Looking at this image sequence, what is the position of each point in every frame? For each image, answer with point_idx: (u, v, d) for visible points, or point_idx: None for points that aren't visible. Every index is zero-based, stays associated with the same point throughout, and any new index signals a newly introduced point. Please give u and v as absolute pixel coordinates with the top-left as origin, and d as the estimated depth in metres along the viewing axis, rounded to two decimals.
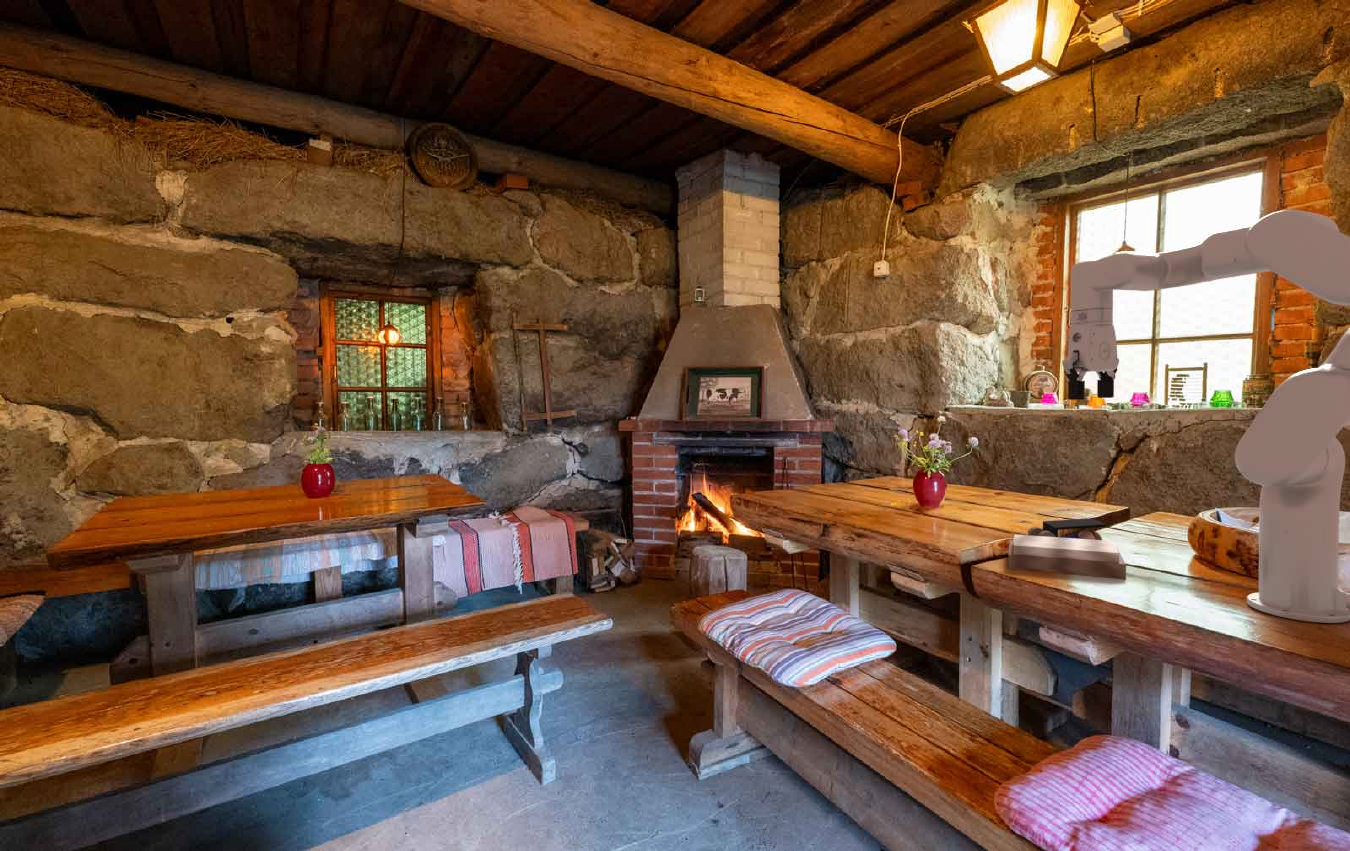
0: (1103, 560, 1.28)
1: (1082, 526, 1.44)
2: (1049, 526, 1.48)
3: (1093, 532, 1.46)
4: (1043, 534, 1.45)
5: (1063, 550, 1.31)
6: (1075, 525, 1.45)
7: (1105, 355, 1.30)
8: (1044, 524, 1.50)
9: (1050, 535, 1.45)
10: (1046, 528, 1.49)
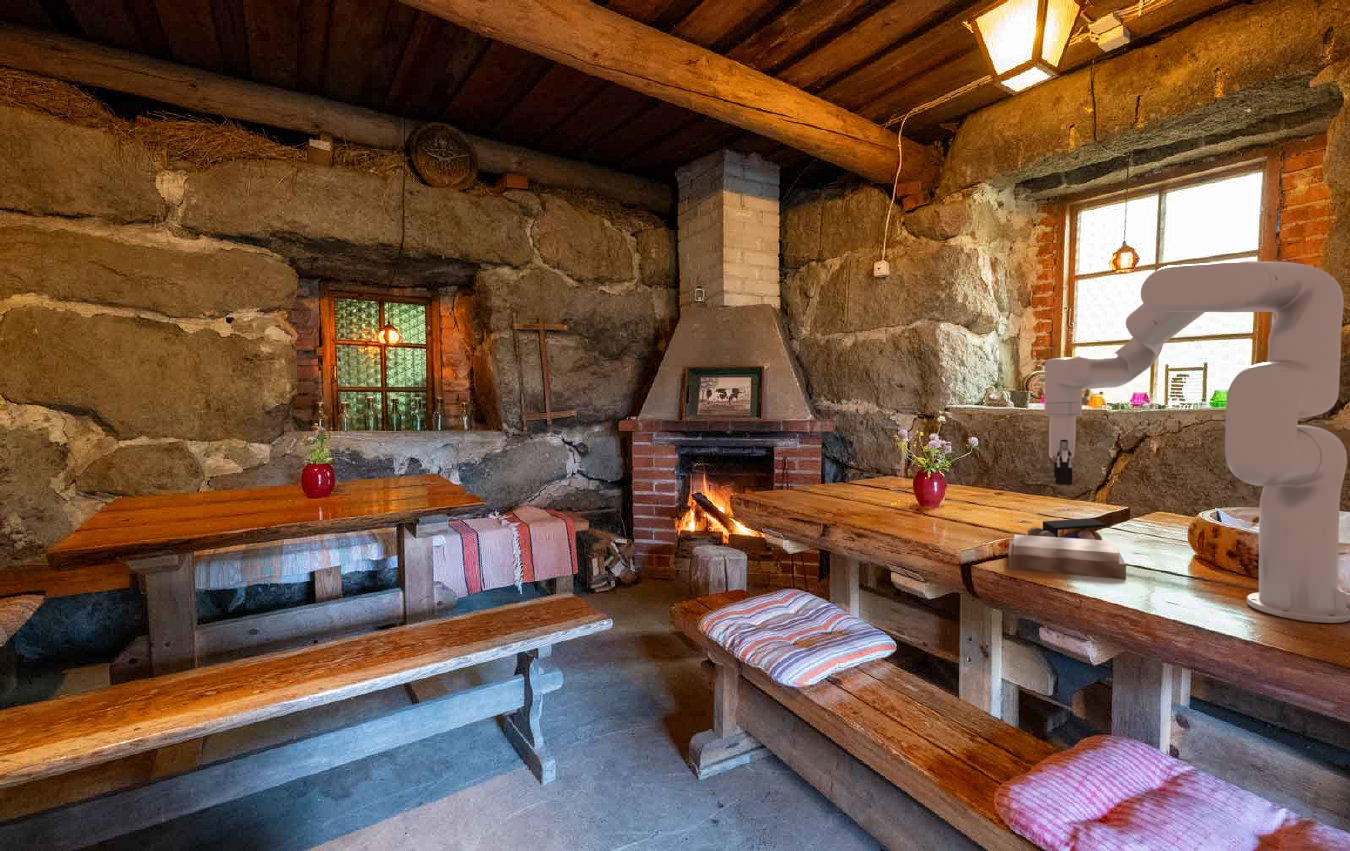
0: (1103, 560, 1.28)
1: (1082, 526, 1.44)
2: (1049, 526, 1.48)
3: (1093, 532, 1.46)
4: (1043, 534, 1.45)
5: (1063, 550, 1.31)
6: (1075, 525, 1.45)
7: None
8: (1044, 524, 1.50)
9: (1050, 535, 1.45)
10: (1046, 528, 1.49)
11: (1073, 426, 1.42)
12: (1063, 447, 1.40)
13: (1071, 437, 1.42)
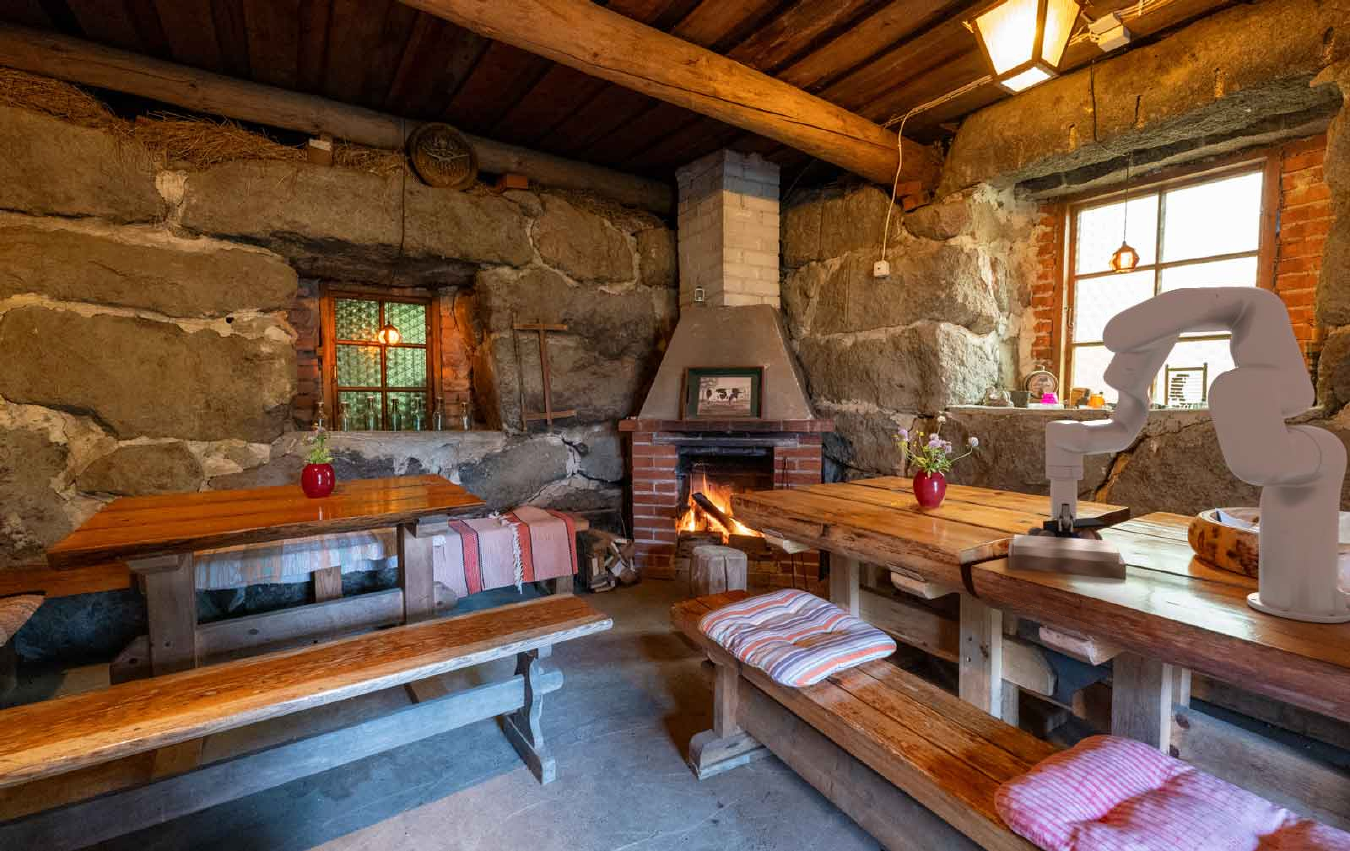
0: (1103, 560, 1.28)
1: (1082, 526, 1.44)
2: (1049, 526, 1.48)
3: (1093, 532, 1.46)
4: (1043, 534, 1.45)
5: (1063, 550, 1.31)
6: (1075, 525, 1.45)
7: None
8: (1044, 524, 1.50)
9: (1050, 535, 1.45)
10: (1046, 528, 1.49)
11: (1074, 490, 1.42)
12: (1065, 513, 1.41)
13: (1073, 501, 1.42)
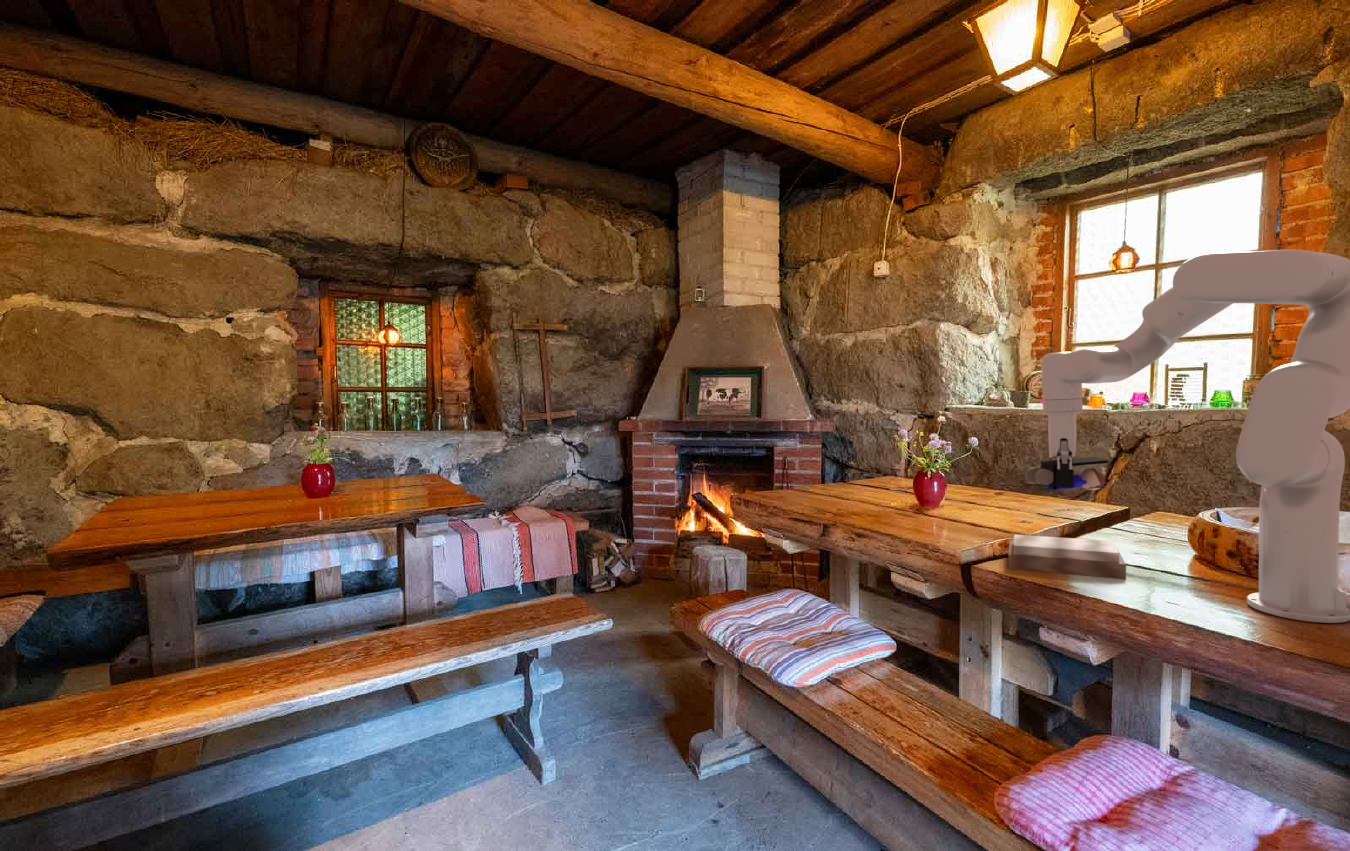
0: (1103, 560, 1.28)
1: (1082, 463, 1.35)
2: (1047, 465, 1.39)
3: (1095, 470, 1.37)
4: (1040, 472, 1.37)
5: (1063, 550, 1.31)
6: (1075, 462, 1.36)
7: None
8: (1042, 464, 1.41)
9: (1048, 473, 1.37)
10: (1044, 468, 1.40)
11: (1073, 424, 1.34)
12: (1063, 448, 1.32)
13: (1071, 435, 1.34)
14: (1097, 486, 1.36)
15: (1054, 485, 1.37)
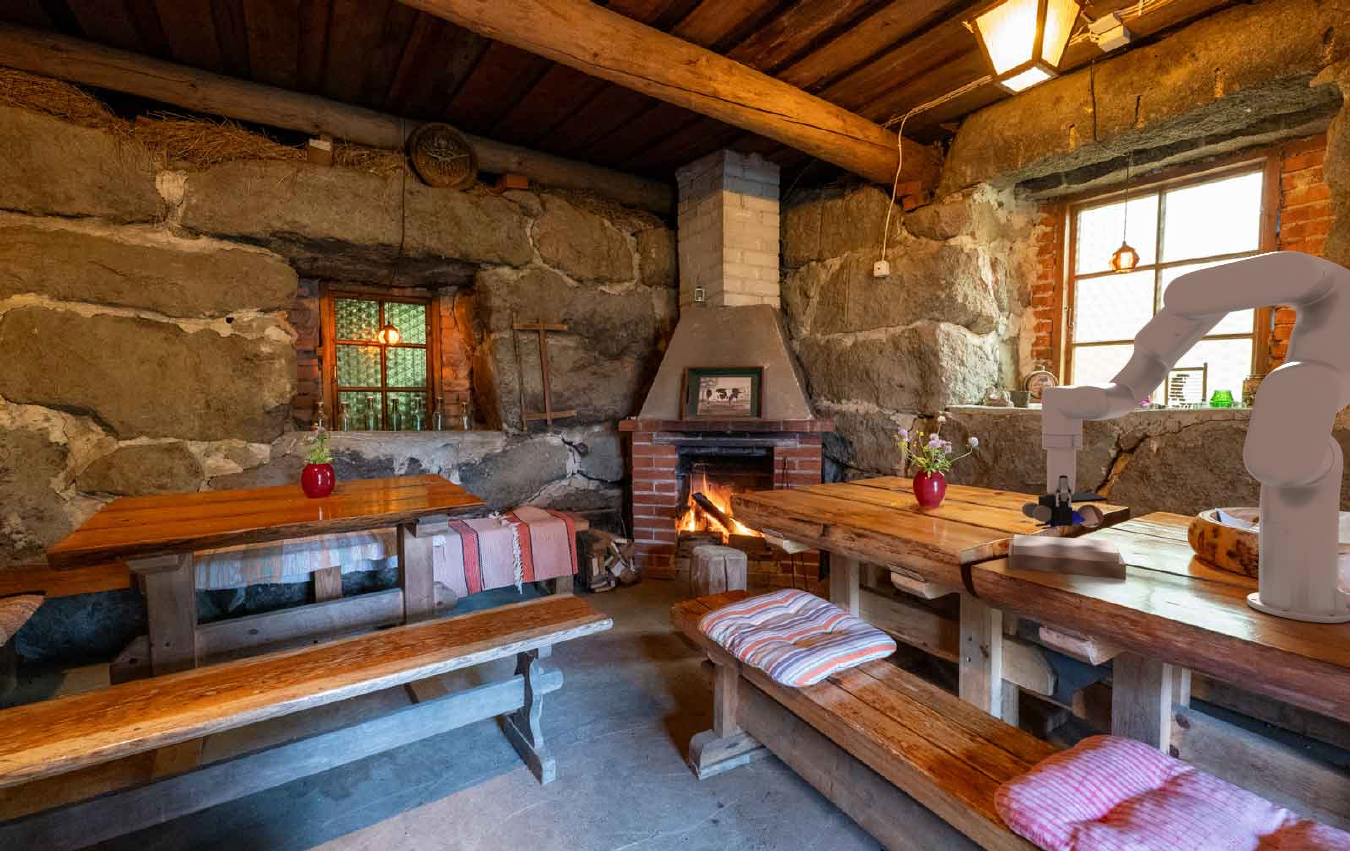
0: (1103, 560, 1.28)
1: (1081, 500, 1.32)
2: (1045, 501, 1.36)
3: (1093, 507, 1.34)
4: (1039, 509, 1.33)
5: (1063, 550, 1.31)
6: (1074, 499, 1.33)
7: None
8: (1040, 499, 1.38)
9: (1046, 510, 1.33)
10: (1042, 503, 1.37)
11: (1073, 461, 1.30)
12: (1062, 486, 1.29)
13: (1071, 473, 1.30)
14: (1095, 524, 1.33)
15: (1052, 522, 1.33)
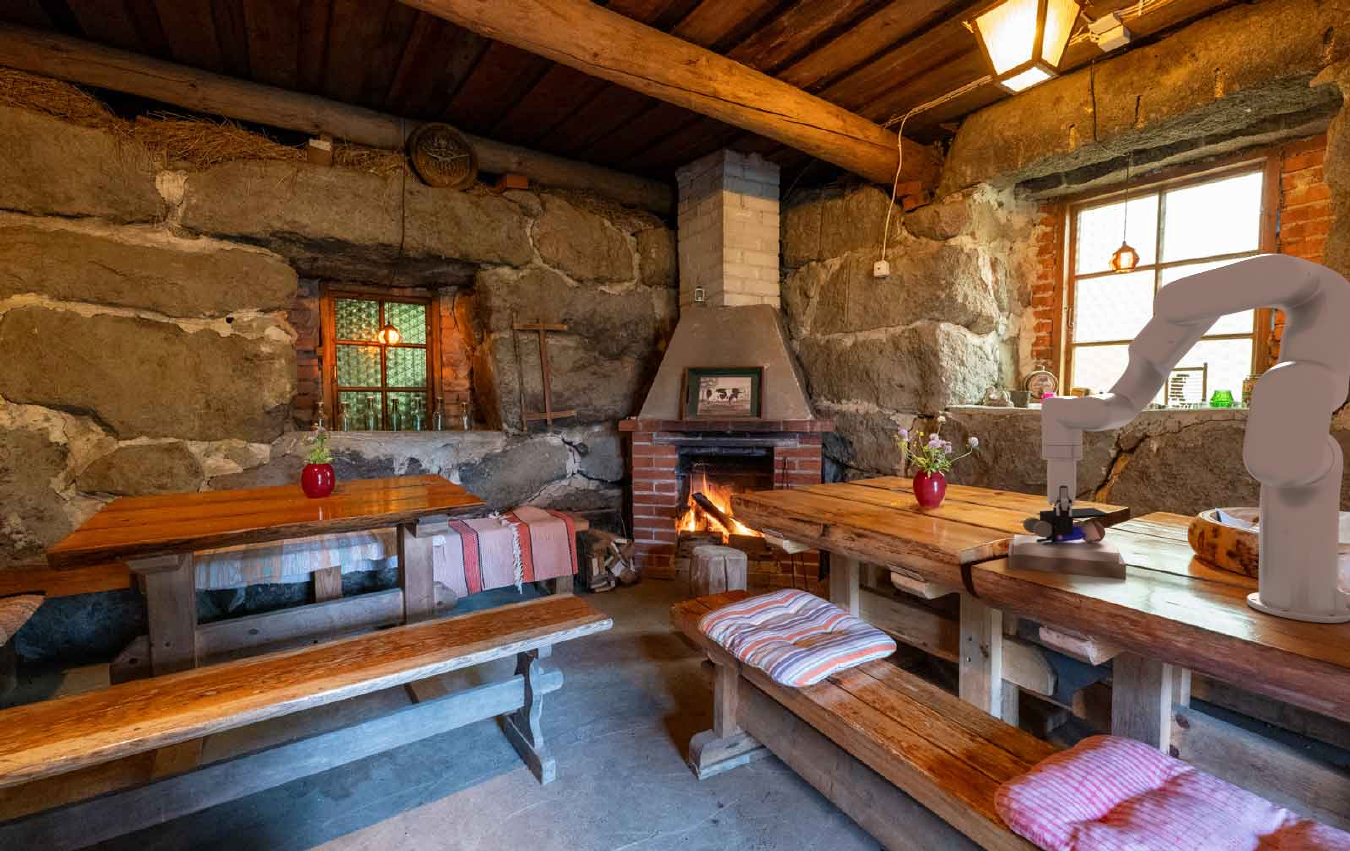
0: (1103, 560, 1.28)
1: (1082, 516, 1.32)
2: (1046, 516, 1.36)
3: (1095, 523, 1.34)
4: (1039, 524, 1.34)
5: (1063, 550, 1.31)
6: (1074, 515, 1.33)
7: (1047, 488, 1.36)
8: (1041, 514, 1.38)
9: (1047, 526, 1.33)
10: (1043, 518, 1.37)
11: (1073, 471, 1.30)
12: (1063, 494, 1.29)
13: (1071, 483, 1.30)
14: (1096, 539, 1.33)
15: (1052, 538, 1.33)
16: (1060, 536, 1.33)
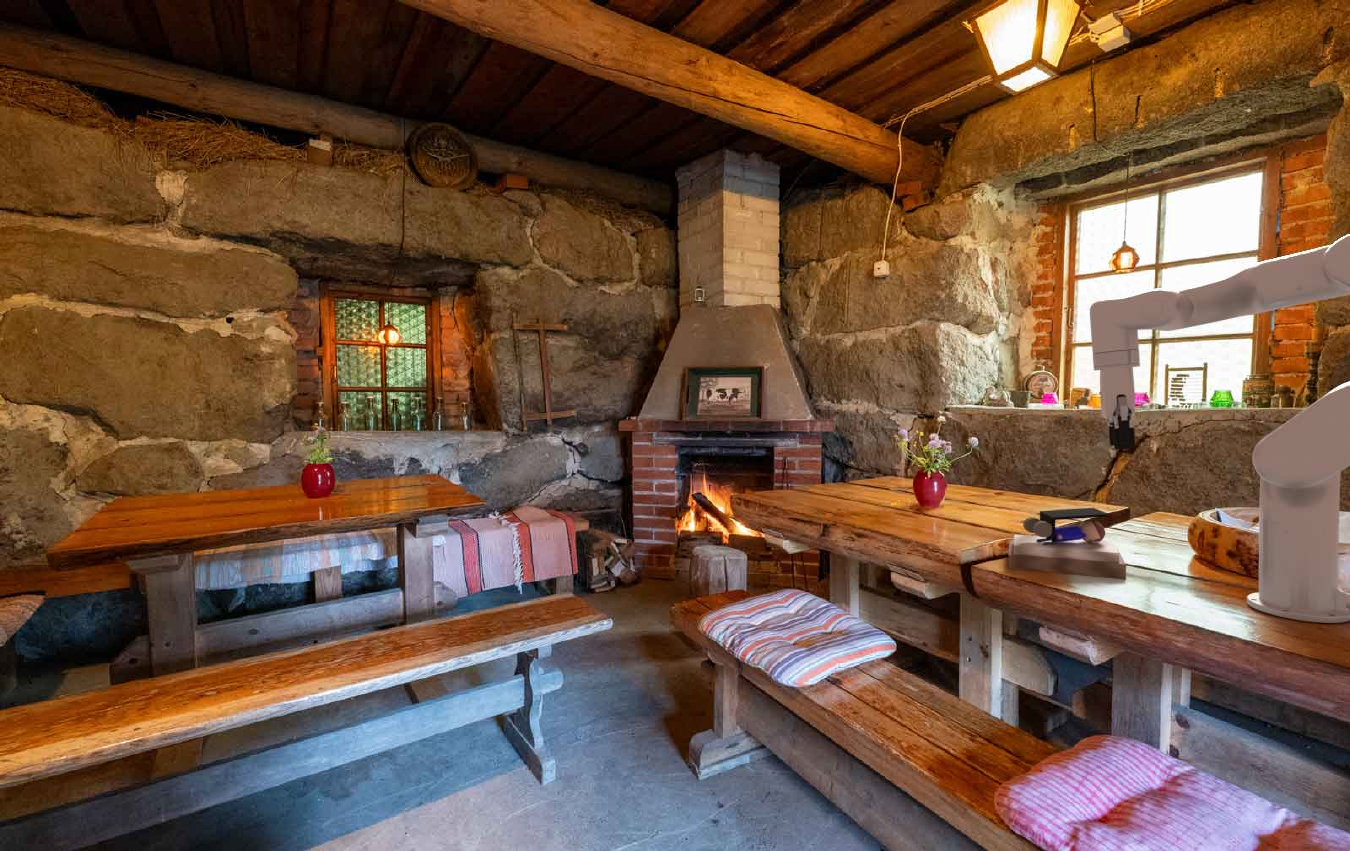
0: (1103, 560, 1.28)
1: (1082, 516, 1.32)
2: (1046, 516, 1.36)
3: (1095, 523, 1.34)
4: (1039, 524, 1.34)
5: (1063, 550, 1.31)
6: (1074, 515, 1.33)
7: None
8: (1041, 514, 1.38)
9: (1047, 526, 1.33)
10: (1043, 518, 1.37)
11: (1131, 378, 1.18)
12: (1121, 402, 1.16)
13: (1130, 391, 1.17)
14: (1096, 539, 1.33)
15: (1052, 538, 1.33)
16: (1060, 536, 1.33)
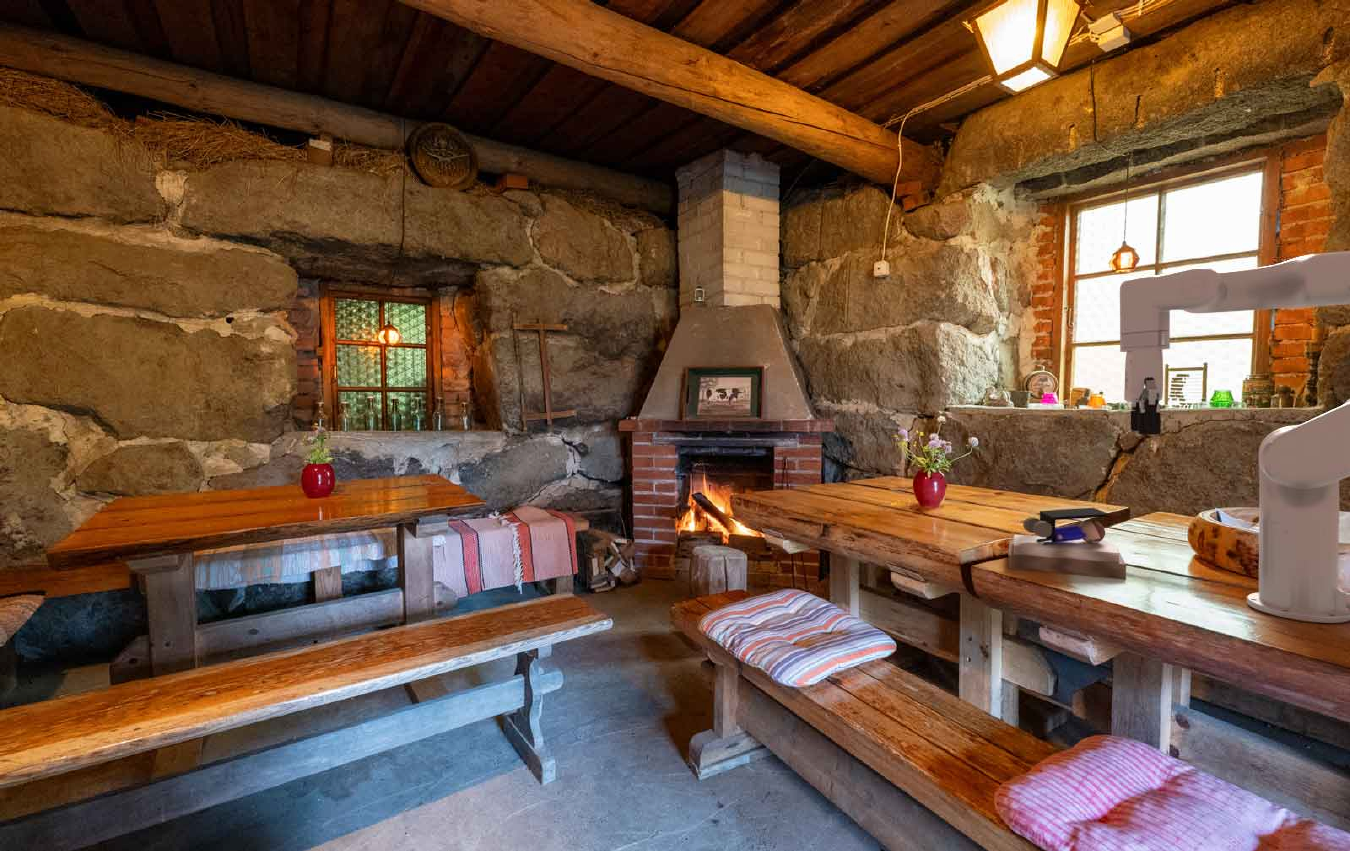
0: (1103, 560, 1.28)
1: (1082, 516, 1.32)
2: (1046, 516, 1.36)
3: (1095, 523, 1.34)
4: (1039, 524, 1.34)
5: (1063, 550, 1.31)
6: (1074, 515, 1.33)
7: (1127, 385, 1.18)
8: (1041, 514, 1.38)
9: (1047, 526, 1.33)
10: (1043, 518, 1.37)
11: (1161, 360, 1.13)
12: (1150, 386, 1.11)
13: (1159, 374, 1.12)
14: (1096, 539, 1.33)
15: (1052, 538, 1.33)
16: (1060, 536, 1.33)
